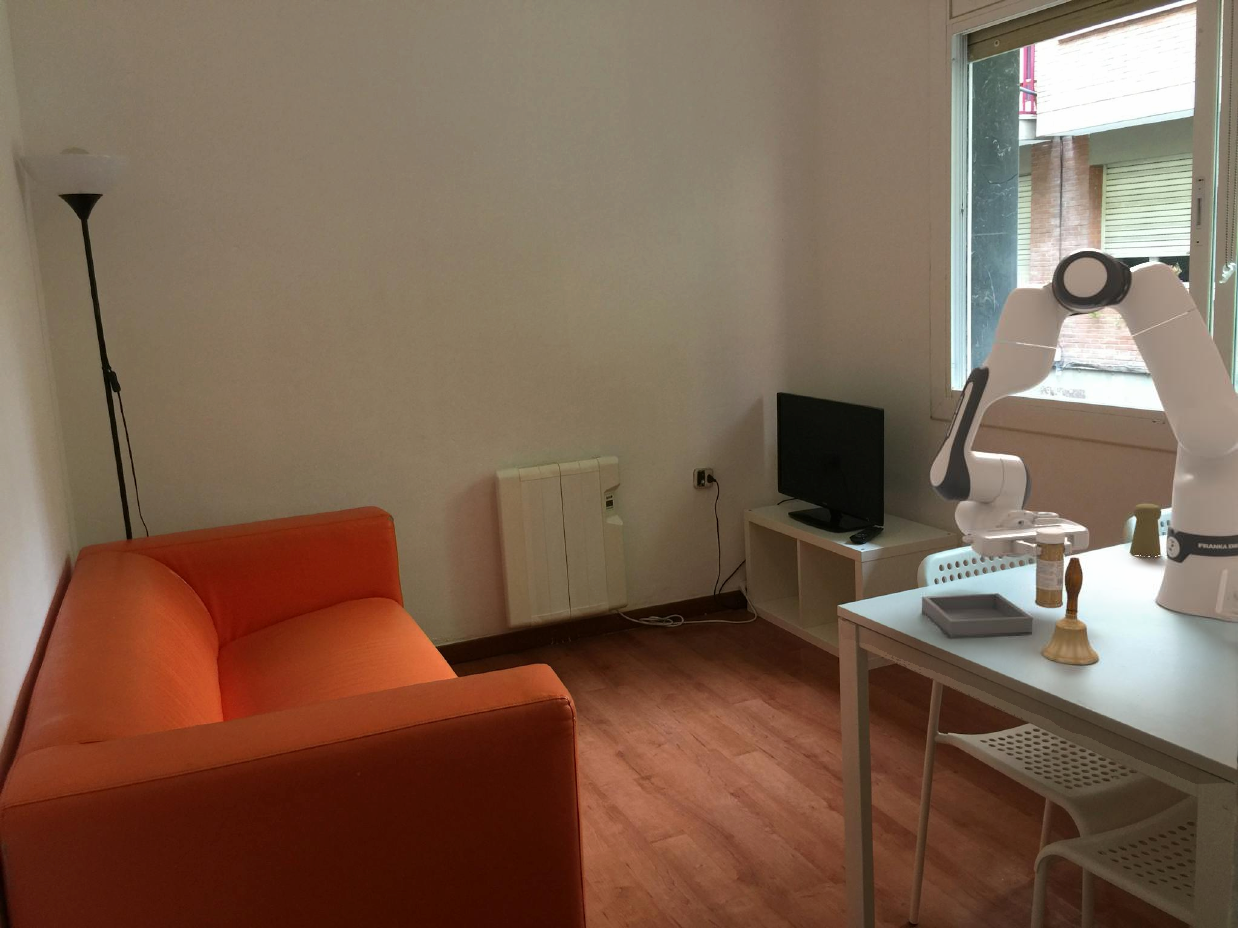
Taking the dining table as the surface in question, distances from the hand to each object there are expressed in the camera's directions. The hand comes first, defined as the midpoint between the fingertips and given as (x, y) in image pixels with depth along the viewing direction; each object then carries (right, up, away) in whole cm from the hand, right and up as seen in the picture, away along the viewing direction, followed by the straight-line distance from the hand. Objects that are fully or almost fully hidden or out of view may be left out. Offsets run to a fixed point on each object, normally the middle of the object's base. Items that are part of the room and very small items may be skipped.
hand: (1053, 550), depth 168 cm
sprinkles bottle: (0, -10, +2) cm, 10 cm away
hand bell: (-3, -16, -12) cm, 20 cm away
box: (-12, -13, +4) cm, 18 cm away
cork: (+39, -5, +44) cm, 59 cm away
